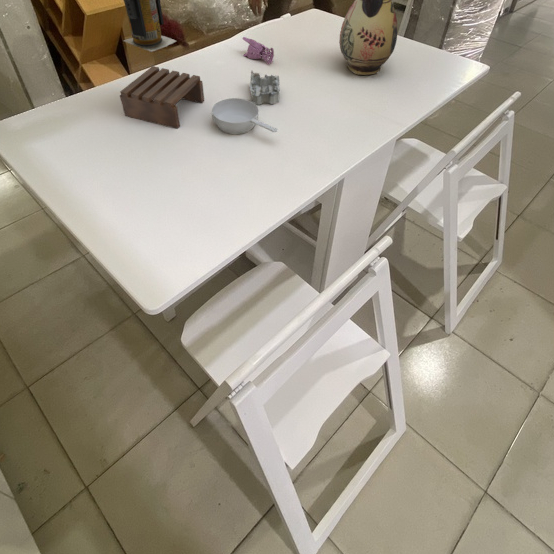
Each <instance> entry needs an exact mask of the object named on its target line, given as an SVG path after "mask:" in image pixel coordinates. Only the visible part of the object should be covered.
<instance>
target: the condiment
mask: <svg viewBox="0 0 554 554" xmlns="http://www.w3.org/2000/svg"><path fill="white" fill-rule="evenodd" d="M123 1H124V0H123ZM123 3H124V7H125V11H126V16H127V21H128V25H129V29H130V33H131V37H129V38H127V39H124V40H123V42H125V43H127V44H129V45H132V46H133V47H134V46H135V47H137V48H140V49H143V50H145V51H148V52H155V51H158V50H161V49H163V48H165V47H166V48H167V47H168V46H169V45H173V44H174V43H176V42H177V40H175V39H172V38H171V37H168V36H165V35H162V30H161V25H160V24H159V18H158V12H157V7H156V0H140V5H141V10H142V15H143V20H144V25H145V29H146V34H147V36H145V37H143V36H138V35H133V32H132V27H131V23H130V19H129V17H128V14H127V9H126V5H125V1H124V2H123Z"/></svg>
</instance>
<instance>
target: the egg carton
mask: <svg viewBox="0 0 554 554" xmlns="http://www.w3.org/2000/svg"><path fill="white" fill-rule="evenodd" d="M280 86H281V85H280V76H279V75H276V74H275V75H274V74H271V75H267V74H264V76H263V77H261V74H260V73H258V72H254V71H253V70H251V71H250V81H249V89H250V93H251V94H250V95H251V102H253V103H254V104H256V105H262V104H264V103H267V104H270V105H275V104H276V103H279V101H280V100H279V98H280V93H279V92H280V90H281V87H280Z"/></svg>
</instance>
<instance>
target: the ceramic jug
mask: <svg viewBox="0 0 554 554" xmlns="http://www.w3.org/2000/svg"><path fill="white" fill-rule="evenodd" d="M397 40H398V19H397V14H396V9H395V7H394V4H393V0H354V1H353V3H352V4H351V6H350V7H349V8H348V11H347V12H346V15H345V16H344V19H343V22H342V25H341V27H340V33H339V41H338V43H339V48H340V52H341V54H342V56H343V58H344V59H345V61H346V66H347V69H348V70H349V71H350V72H352V73H354V74H355V75H357V76H358V75H359V76H360V75H361V76H362V75H363V76H365V75H366V76H367V75H375V74H378V73H379V72H380V71H381V67H382V66H383V65H384V64H385V63H387V61H388V60H389V59H390V57H391V56H392V54H393V53H394V50H395V48H396V45H397Z"/></svg>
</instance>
